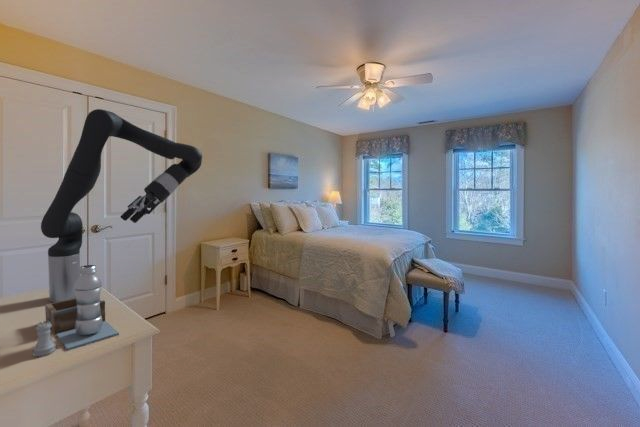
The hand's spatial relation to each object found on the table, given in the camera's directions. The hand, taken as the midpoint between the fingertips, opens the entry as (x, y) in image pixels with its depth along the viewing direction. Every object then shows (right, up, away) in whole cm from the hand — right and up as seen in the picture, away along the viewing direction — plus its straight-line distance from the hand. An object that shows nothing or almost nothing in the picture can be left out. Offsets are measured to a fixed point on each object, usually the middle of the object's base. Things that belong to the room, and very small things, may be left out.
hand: (127, 220), depth 102 cm
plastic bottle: (-2, -33, -14) cm, 36 cm away
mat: (-3, -34, -14) cm, 36 cm away
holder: (-13, -33, -6) cm, 36 cm away
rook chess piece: (-6, -35, -24) cm, 42 cm away
